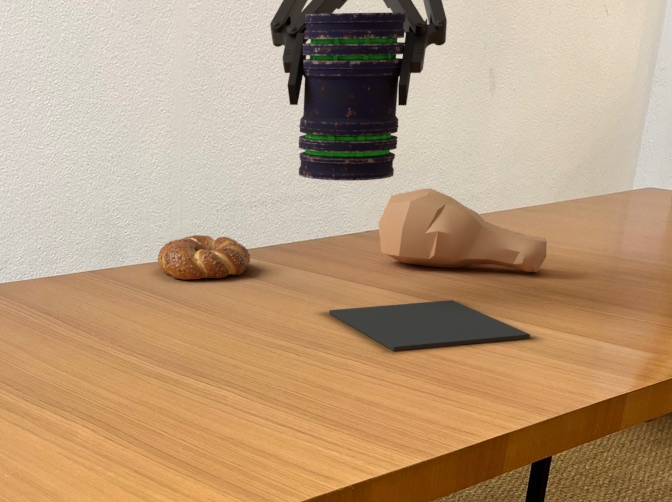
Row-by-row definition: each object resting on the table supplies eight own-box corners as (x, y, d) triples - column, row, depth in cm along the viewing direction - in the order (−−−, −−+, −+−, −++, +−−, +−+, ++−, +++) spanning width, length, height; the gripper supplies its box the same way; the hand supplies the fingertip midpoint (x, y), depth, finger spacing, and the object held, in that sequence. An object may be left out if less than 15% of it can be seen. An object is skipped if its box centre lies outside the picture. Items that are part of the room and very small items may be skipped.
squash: (380, 255, 134) (398, 183, 132) (539, 289, 128) (561, 213, 125) (361, 256, 125) (380, 178, 122) (531, 292, 118) (555, 211, 115)
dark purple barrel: (301, 181, 104) (308, 13, 97) (293, 169, 112) (299, 14, 106) (402, 180, 103) (416, 12, 97) (386, 168, 112) (398, 13, 106)
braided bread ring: (212, 286, 118) (212, 253, 116) (136, 275, 124) (135, 243, 122) (268, 268, 127) (269, 237, 125) (194, 258, 133) (195, 228, 131)
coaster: (529, 338, 98) (530, 334, 98) (393, 351, 94) (393, 346, 94) (452, 303, 110) (452, 300, 110) (329, 313, 107) (329, 310, 106)
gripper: (484, -50, 110) (464, 123, 102) (271, -43, 115) (238, 121, 108) (490, -115, 103) (469, 66, 96) (263, -104, 109) (227, 67, 101)
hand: (346, 95), depth 102 cm, fingers closed on dark purple barrel, 10 cm apart
